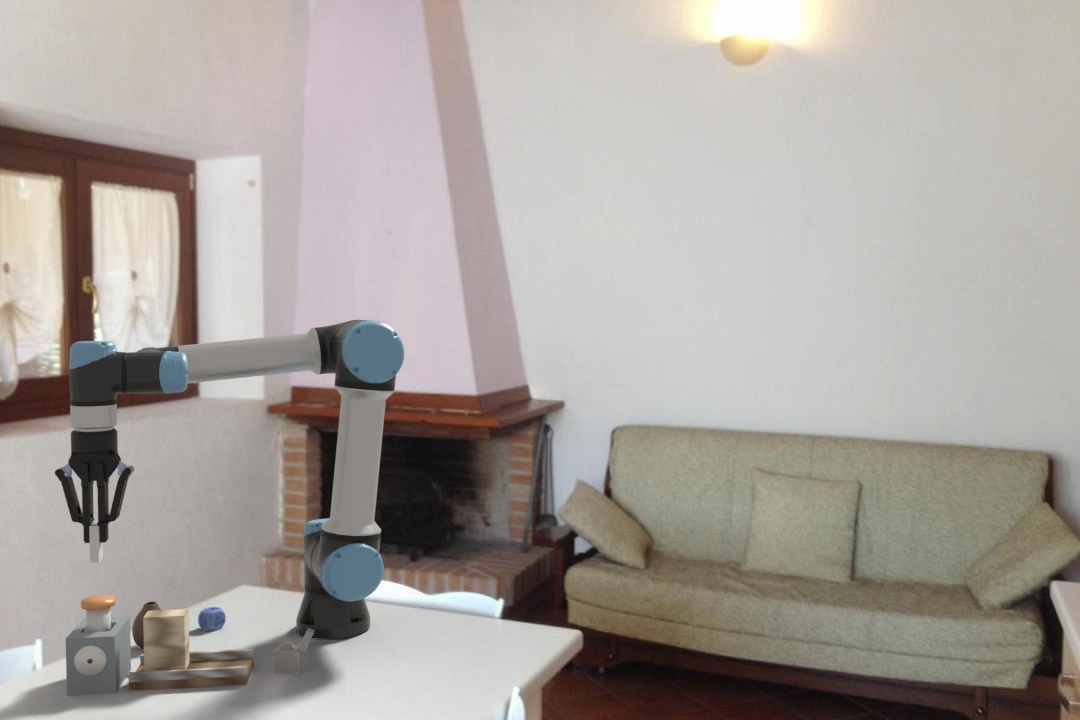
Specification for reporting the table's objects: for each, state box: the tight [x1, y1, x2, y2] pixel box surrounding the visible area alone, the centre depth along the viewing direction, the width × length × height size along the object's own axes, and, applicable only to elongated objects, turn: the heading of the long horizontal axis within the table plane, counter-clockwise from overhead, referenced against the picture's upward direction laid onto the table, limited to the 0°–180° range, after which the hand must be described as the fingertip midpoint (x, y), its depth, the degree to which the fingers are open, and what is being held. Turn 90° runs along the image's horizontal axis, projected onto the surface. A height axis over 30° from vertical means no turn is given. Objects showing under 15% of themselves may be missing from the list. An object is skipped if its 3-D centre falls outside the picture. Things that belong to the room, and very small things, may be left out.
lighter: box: [274, 628, 315, 675], centre depth 185 cm, size 7×2×8 cm, turn 95°
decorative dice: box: [197, 606, 227, 632], centre depth 209 cm, size 4×4×4 cm
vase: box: [131, 601, 163, 651], centre depth 198 cm, size 7×7×9 cm
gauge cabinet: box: [65, 616, 132, 696], centre depth 179 cm, size 8×12×10 cm
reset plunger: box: [80, 594, 116, 632], centre depth 179 cm, size 6×6×8 cm
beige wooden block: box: [143, 608, 190, 671], centre depth 181 cm, size 7×4×10 cm, turn 99°
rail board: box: [127, 648, 254, 692], centre depth 182 cm, size 20×10×3 cm, turn 99°
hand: (96, 560), depth 178 cm, fingers closed
